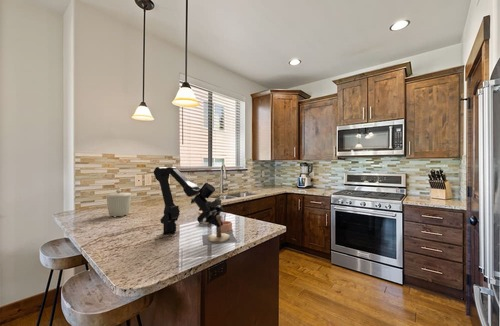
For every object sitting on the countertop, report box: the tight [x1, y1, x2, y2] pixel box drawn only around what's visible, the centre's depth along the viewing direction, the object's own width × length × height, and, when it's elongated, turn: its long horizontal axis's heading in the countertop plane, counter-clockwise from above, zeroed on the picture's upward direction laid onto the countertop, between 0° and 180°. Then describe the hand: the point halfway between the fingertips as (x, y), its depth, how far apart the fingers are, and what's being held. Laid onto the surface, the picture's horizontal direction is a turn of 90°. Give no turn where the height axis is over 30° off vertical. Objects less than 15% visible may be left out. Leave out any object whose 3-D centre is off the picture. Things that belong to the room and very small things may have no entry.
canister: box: [105, 189, 133, 217], centre depth 174 cm, size 18×18×21 cm
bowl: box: [221, 220, 233, 233], centre depth 132 cm, size 8×8×4 cm
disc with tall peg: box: [208, 214, 230, 242], centre depth 117 cm, size 12×12×12 cm
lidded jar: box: [197, 210, 210, 225], centre depth 150 cm, size 11×11×9 cm
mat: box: [201, 232, 238, 246], centre depth 117 cm, size 17×16×1 cm
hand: (221, 225), depth 116 cm, fingers closed on disc with tall peg, 3 cm apart
